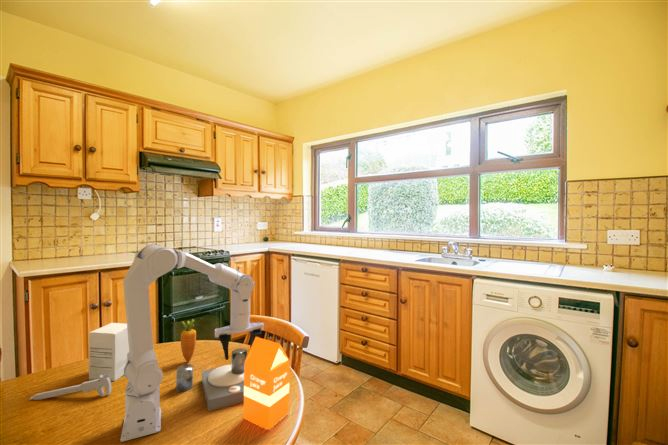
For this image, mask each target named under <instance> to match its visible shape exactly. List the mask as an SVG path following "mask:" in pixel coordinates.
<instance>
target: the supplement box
mask: <svg viewBox="0 0 668 445" xmlns="http://www.w3.org/2000/svg"><path fill="white" fill-rule="evenodd" d="M128 352H129V342H128V331H127V323H124V322H123V323H122V322H121V323H120V322H110V323H108V324H106V325H104V326H101V327H99V328H96V329H94V330H92V331H90V332H88V380H90V381H91V380H96V379H100V378H99V376H100V375H103V376H104V375H105V374H106V375H107V377H109V378H110V381H111V382H116V381H117V380H118V379H120V378H121V377H123V376H125V375H124V368H125V365H126V363H127V354H128Z"/></svg>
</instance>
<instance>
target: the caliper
mask: <svg viewBox="0 0 668 445" xmlns="http://www.w3.org/2000/svg"><path fill="white" fill-rule="evenodd" d="M99 378H100V379H96V380H91V379H90V380H87V381H84V382H82V383H81V384H77V385H76V384H75V385H72V386H71V385H70V386H67V387H61V388H57V389H52V390H48V391H43V392H38V393H36V394H34V395H33V396H31V397H30V398H28V401H31V400H32V401H33V400H34V401H36V400H37V401H38V400H40V401H41V400H45V399H49V398H53V397H54V398H55V397H59V396H62V395H67V394H68V395H69V394H71V393H72V394H73V393H76V392H81V391H82V393H83V394H85V393H87V392H88V393H89V392H92V391H93V390H96V392H97V394H98V395H99V397H104V396H105V392H106V395H107V397H109V396H110V395H111V394H112V381H110V378H109V377H107V375H106V374H105V375H104V376H103V375H100V376H99ZM104 388H105V389H104ZM104 390H105V391H104Z"/></svg>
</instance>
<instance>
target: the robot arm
mask: <svg viewBox="0 0 668 445" xmlns="http://www.w3.org/2000/svg"><path fill="white" fill-rule="evenodd" d="M181 268H187V269H191V270H193V271H196V272H198V273H201V274H204V275H207V277H208V280H209V281H210V282H211V283H214V284H215V285H218V286H221V287H224V288H227V289H229V290H230V291H231V292H230V324H229V325H227V326H223V327H219V328H218V327H217V328H215V329H214V338H218V339H219V341H220V343H221V346H222V350H223V353H224V359H225V361H229V357H230V356H229V345H230V344H229V343H230V339H229V336H230V335H234V334H236V335H237V334H243V333H249V337H250V338H249V339H250V345H249V346H250V347H249V350H250V349H251V347H252V344H253V342H254V340H255V337H259V338H261V336H262V331H264V330H265V323H264V322H251V297H252V292H253V290H254V288H255V285H256V283H255V282H254V279H253V277H252V275H249V274H245V273H243V272H242V270H240V269H239V268H238V269H235V268H232V267H230V266H229V264H228V263H226V262H222V263H221V262H217V263H215V264H212V263H210V262H207V261H206V260H204V259H201V258H199V257H196V256H194V255H192V254H191V253H189V252H186V251H181V250H177V249H174V248H171V247H168V246H161V245H159V244H156V243H155V244H154V243H152V244H148V245H146V246H144V247H143V248H142V249H140V250H139V251H138V252H137V253H135V255H134V259H133V261H132V263H131V265H130V267H129V268H128V270H127V272H126V273H125V275H124V278H123V279H122V280H123V282H122V285H123V294H124V297H123V298H124V304H125V305H124V307H125V317H126V324H127V331H128V342H129V352H128V354H127V363H126V365H125V368H124V375H123V376H124V377H125V378H126V379H127V380H128V383H127V384H126V388H125V393H124V394H125V395H124V396H125V402H124V405H125V406H124V408H125V409H124V413H125V415H124V418H123V424H122V425H123V426H122V430H121V436H120V438H119V439H120V442H121V443H122V442H126V441H130V440H134V439H137V438H142V437H145V436H148V435H149V436H150V435H152V434H156V433H160V432H161V429H162V408H161V407H160V391H161V390H160V387H161V384H162V382H163V378H164V374H163V370H162V369H161V367H160V366H159V364H158V357H157V355H156V353H155V349H154V340H153V328H152V327H153V326H152V314H151V304H150V294H149V293H150V290H149V287H150V286H151V284H153V283H154V282H155V281H156V280H158V278H161V277H162V276H163V275H166V274H167V273H170V272H171V271H172V270H173V269H177V270H178V269H181Z"/></svg>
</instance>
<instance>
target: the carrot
mask: <svg viewBox="0 0 668 445" xmlns="http://www.w3.org/2000/svg"><path fill="white" fill-rule="evenodd" d="M194 323H195V319H193V318H192V319H191V321H190V320H187V321H186V322H185V321H184V320H183V321H181V324H182V325H183V327H184V330H182V332H181V334H180V348H181V353H182V356H183V358H184V360H185V361H186V362H187V363H190V362H191V359H192V357H193V355H194V352H195V349H196V342H197V330H196V329H193V327H195V324H194Z"/></svg>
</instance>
